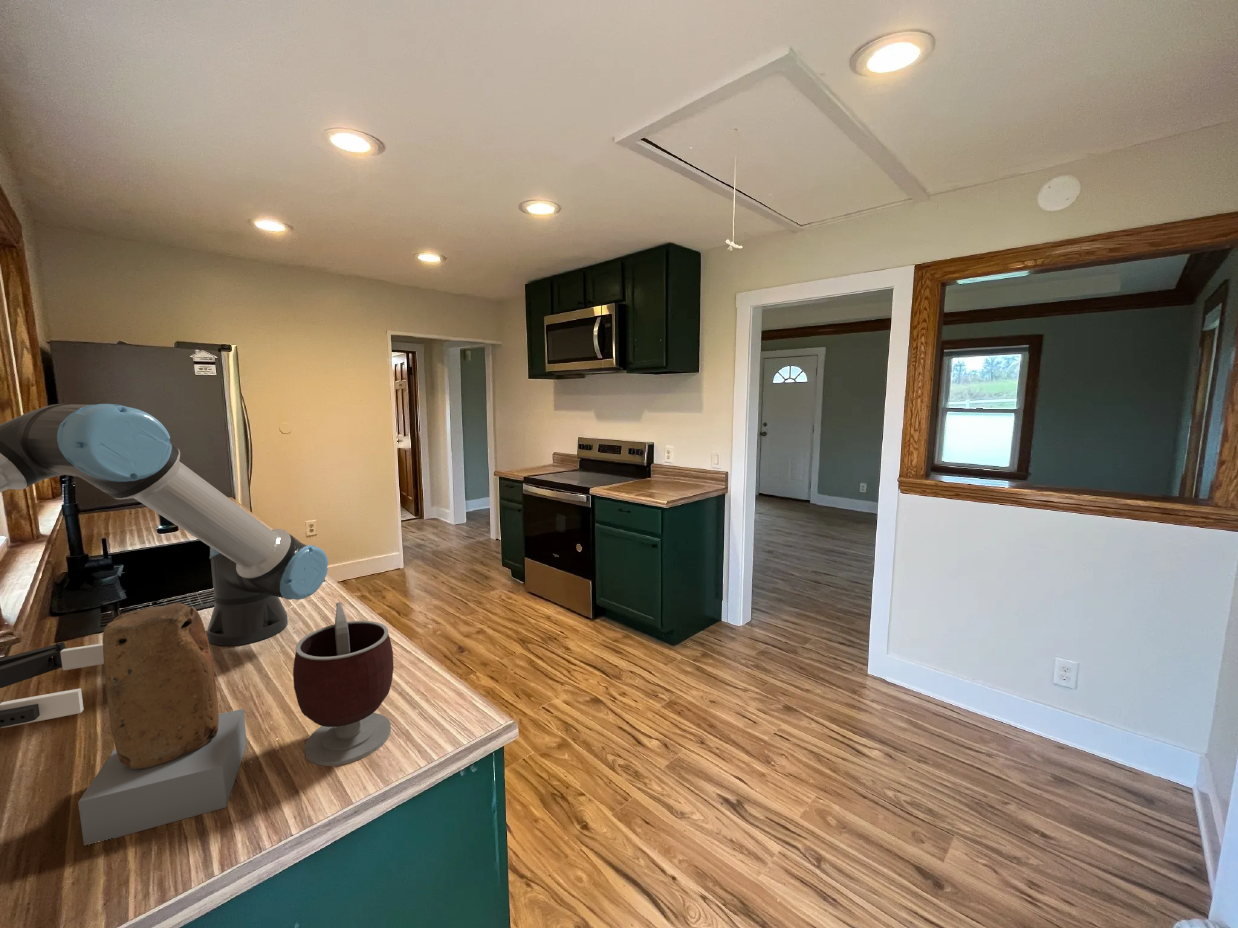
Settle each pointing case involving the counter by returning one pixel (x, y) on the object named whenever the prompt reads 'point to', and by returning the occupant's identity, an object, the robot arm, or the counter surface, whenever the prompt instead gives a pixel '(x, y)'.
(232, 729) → the grey base block
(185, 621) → the block
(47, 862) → the counter surface
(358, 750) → the mate gourd
